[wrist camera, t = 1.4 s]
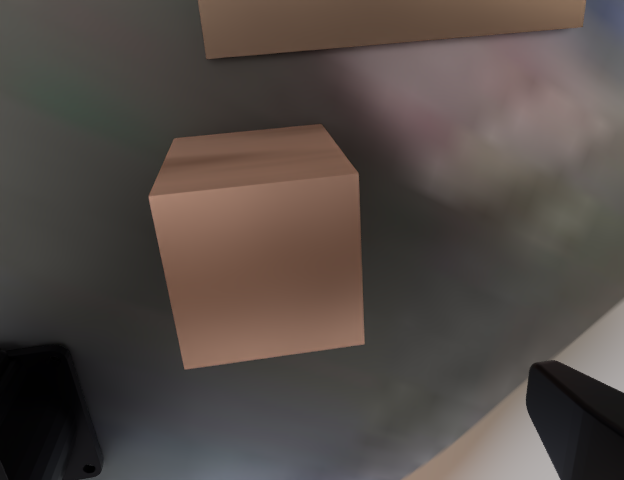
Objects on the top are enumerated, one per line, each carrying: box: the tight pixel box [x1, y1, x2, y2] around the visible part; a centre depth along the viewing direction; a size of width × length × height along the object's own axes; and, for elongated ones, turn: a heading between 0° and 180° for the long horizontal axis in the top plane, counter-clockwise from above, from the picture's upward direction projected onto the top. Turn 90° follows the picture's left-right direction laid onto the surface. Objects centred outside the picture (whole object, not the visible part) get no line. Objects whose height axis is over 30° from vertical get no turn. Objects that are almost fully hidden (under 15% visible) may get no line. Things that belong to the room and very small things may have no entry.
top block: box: [148, 124, 365, 369], centre depth 16 cm, size 5×5×6 cm
